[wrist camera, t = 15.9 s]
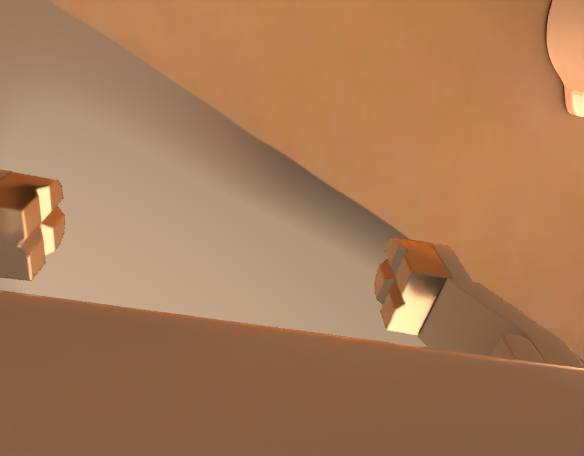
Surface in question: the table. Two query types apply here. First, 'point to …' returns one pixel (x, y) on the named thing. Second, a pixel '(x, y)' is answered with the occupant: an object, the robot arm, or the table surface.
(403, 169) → the table surface
